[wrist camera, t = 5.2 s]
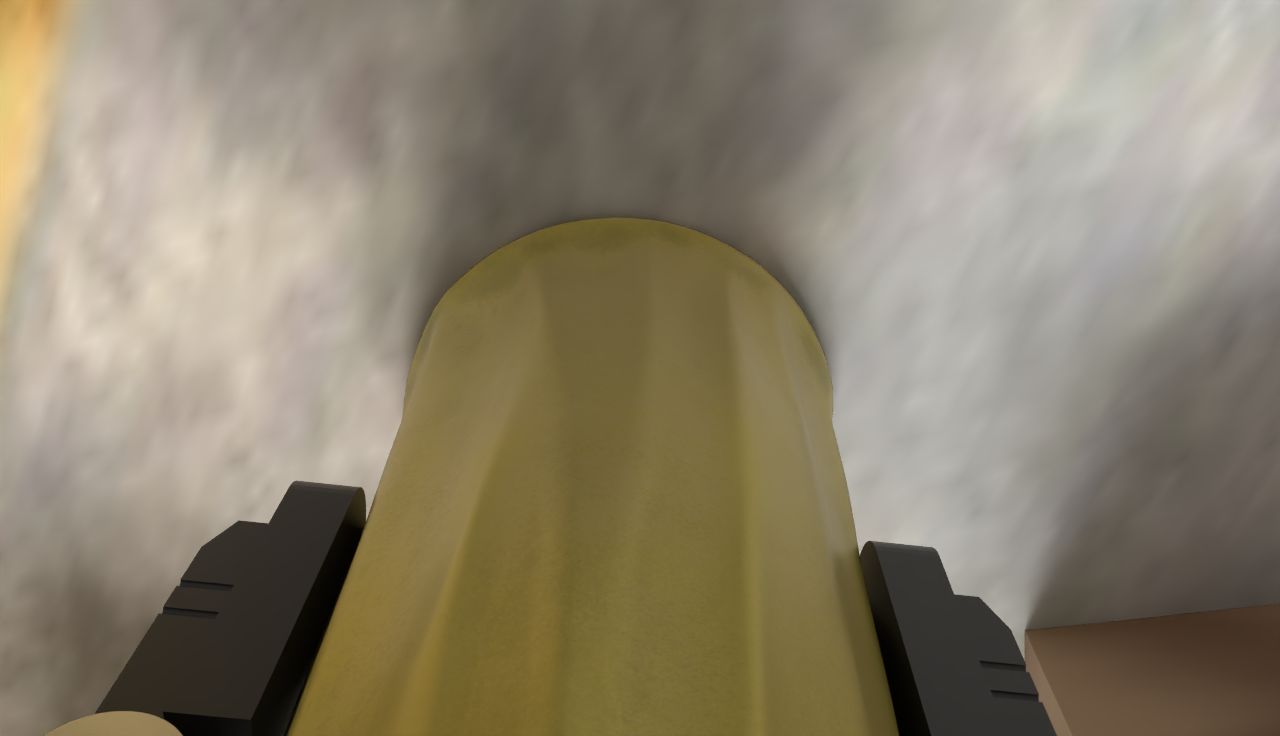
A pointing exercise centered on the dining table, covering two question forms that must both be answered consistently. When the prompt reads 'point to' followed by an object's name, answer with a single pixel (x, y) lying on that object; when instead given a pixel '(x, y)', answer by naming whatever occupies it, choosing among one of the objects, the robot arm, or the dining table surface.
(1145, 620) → the walnut block
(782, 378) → the vase
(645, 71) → the dining table surface
